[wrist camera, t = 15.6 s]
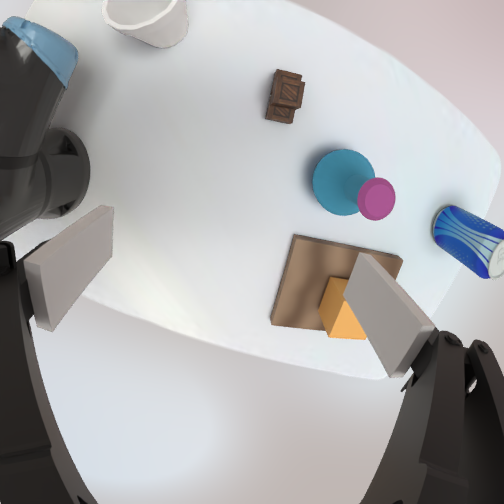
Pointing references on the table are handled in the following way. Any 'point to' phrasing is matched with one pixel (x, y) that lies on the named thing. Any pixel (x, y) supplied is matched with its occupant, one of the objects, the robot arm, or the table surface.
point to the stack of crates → (285, 96)
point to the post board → (317, 278)
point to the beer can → (471, 241)
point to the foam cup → (148, 20)
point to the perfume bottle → (351, 186)
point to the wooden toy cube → (339, 312)
